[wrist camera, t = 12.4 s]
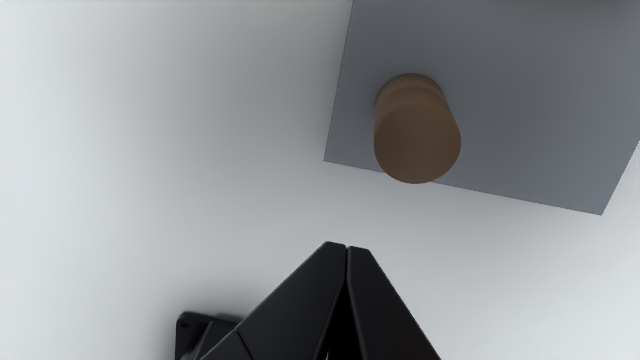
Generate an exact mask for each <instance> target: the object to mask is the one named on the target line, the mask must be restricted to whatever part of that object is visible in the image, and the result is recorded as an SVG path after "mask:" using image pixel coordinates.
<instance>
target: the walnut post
mask: <svg viewBox="0 0 640 360" xmlns="http://www.w3.org/2000/svg"><path fill="white" fill-rule="evenodd" d="M460 149H461V135H460V131H459V128H458V126H457V123H456V121H455V119H454V117H453V114H452V112H451V110H450V108H449V105H448V103H447V101H446V99H445V96H444V94H443V92H442V90H441V88H440V87H439V86H438V84H437V83H436V82H435V81H433V80H432V79H430V78H429V77H427V76H424V75H421V74H416V73H407V74H402V75H399V76H396V77H394V78H392V79H391V80H389V81H388V82H387V83H386V84H385V85H384V86H383V87H382V88H381V89H380V91H379V93H378V95H377V97H376V100H375V106H374V153H375V157H376V159H377V162H378V163H379V165H380V167H381V168H382V169H383V170H384V171H385V172H386V173H387V174H388V175H389V176H391V177H392V178H394V179H396V180H399V181H401V182H405V183H411V184H420V183H426V182H430V181H433V180H435V179H437V178H439V177H441V176H442V175H444V174H445V173H446V172H448V171H449V170H450V169H451V167H452V166H453V165H454V163H455V162H456V160H457V158H458V156H459V153H460Z"/></svg>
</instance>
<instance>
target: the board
mask: <svg viewBox="0 0 640 360" xmlns="http://www.w3.org/2000/svg"><path fill="white" fill-rule="evenodd" d="M407 73H416V74H421V75H424V76H427V77H429V78H430V79H432V80H433V81H435V82H436V83H437V84H438V86H439V87H440V88H441V90H442V92H443V94H444V96H445V99H446V101H447V103H448V105H449V108H450V110H451V112H452V114H453V117H454V119H455V121H456V123H457V126H458V128H459V131H460V135H461V149H460V153H459V156H458V158H457V160H456V162H455V163H454V165H453V166H452V167H451V169H450V170H449V171H448V172H446V173H445V174H444V175H442V176H441V177H439V178H437V179H435V180H433V181H430V182H434V183H439V184H444V185H449V186H454V187H459V188H464V189H469V190H474V191H479V192H485V193H490V194H495V195H500V196H505V197H510V198H515V199H520V200H525V201H530V202H535V203H540V204H546V205H551V206H556V207H561V208H566V209H571V210H576V211H581V212H586V213H591V214H596V215H602V214H603V212H604V210H605V208H606V206H607V204H608V202H609V200H610V198H611V196H612V194H613V192H614V190H615V188H616V186H617V184H618V182H619V180H620V178H621V176H622V174H623V172H624V170H625V168H626V166H627V164H628V162H629V160H630V158H631V156H632V154H633V152H634V150H635V148H636V146H637V144H638V142H639V140H640V0H353V5H352V10H351V15H350V21H349V26H348V32H347V37H346V42H345V48H344V53H343V59H342V64H341V69H340V75H339V80H338V86H337V91H336V96H335V102H334V107H333V113H332V118H331V123H330V129H329V134H328V140H327V145H326V150H325V156H324V161H327V162H332V163H337V164H342V165H347V166H352V167H357V168H362V169H368V170H373V171H378V172H383V173H386V172H385V171H384V170H383V169H382V168H381V167H380V165H379V163H378V162H377V159H376V157H375V153H374V106H375V100H376V97H377V95H378V93H379V91H380V89H381V88H382V87H383V86H384V85H385V84H386V83H387V82H388V81H389V80H391V79H392V78H394V77H396V76H399V75H402V74H407Z"/></svg>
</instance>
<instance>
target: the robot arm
mask: <svg viewBox="0 0 640 360" xmlns="http://www.w3.org/2000/svg"><path fill="white" fill-rule="evenodd" d="M185 322H188V323H189V324H188V323H185ZM327 354H328V357H327ZM326 358H327V360H441V358H440V357H439V355H438V354H437V352H436V351H435V349H434V348H433V346H432V345H431V343H430V342H429V340H428V339H427V337H426V336H425V334H424V333H423V331H422V330H421V328H420V327H419V325H418V323H417V322H416V320H415V319H414V317H413V316H412V314H411V313H410V311H409V310H408V308H407V307H406V305H405V304H404V302H403V301H402V299H401V298H400V296H399V295H398V293H397V292H396V290H395V289H394V287H393V286H392V284H391V283H390V281H389V279H388V278H387V276H386V275H385V273H384V272H383V270H382V269H381V267H380V266H379V264H378V263H377V261H376V260H375V258H374V257H373V255H372V254H371V252H370V251H369V250H368V249H364V248H359V247H354V246H349V247H348V248H346V246H345V245H344V244H339V243H334V242H329V241H327V242H325V243H323V244H322V245H321V246H320V247H319V248H318V249H317V250H316V251H315V252H314V253H313V254H312V255H311V256H310V257H309V258H308V259H307V260H305V261H304V262H303V263H302V264H301V265H300V266H299V267H298V268H297V269H296V270H295V271H294V272H293V273H292V274H291V275H290V276H289V277H288V278H287V279H286V280H284V281H283V282H282V283H281V284H280V285H279V286H278V287H277V288H276V289H275V290H274V291H273V292H272V293H271V294H270V295H269V296H268V297H267V298H266V299H264V300H263V301H262V302H261V303H260V304H259V305H258V306H257V307H256V308H255V309H254V310H253V311H252V312H251V313H250V314H249V315H248V316H247V317H246V318H245V319H243V320H242V321H241V322H240V323H239V324H238V323H234V322H229V321H224V320H219V319H214V318H209V317H204V316H200V315H195V314H190V313H183V314H181V315H180V316H179V318H178V320H177V323H176V345H175V360H326Z"/></svg>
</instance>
